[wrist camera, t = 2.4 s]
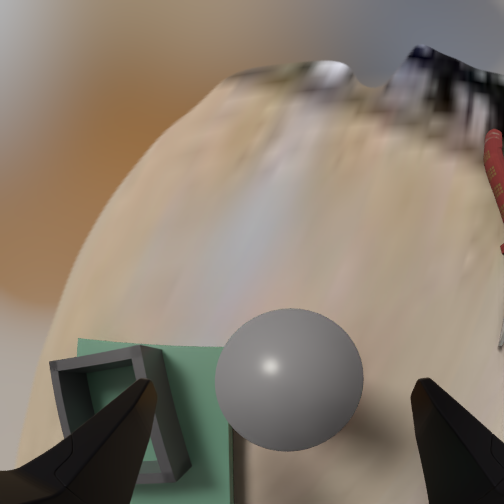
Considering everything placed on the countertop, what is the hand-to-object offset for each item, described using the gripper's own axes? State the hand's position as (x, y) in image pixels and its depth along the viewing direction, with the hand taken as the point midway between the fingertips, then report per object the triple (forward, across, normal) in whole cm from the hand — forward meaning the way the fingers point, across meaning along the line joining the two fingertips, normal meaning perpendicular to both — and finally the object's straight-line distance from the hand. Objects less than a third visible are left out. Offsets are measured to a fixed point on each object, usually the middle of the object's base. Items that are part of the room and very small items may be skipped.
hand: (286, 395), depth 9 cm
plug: (+6, 0, +6) cm, 9 cm away
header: (+3, +9, +7) cm, 12 cm away
